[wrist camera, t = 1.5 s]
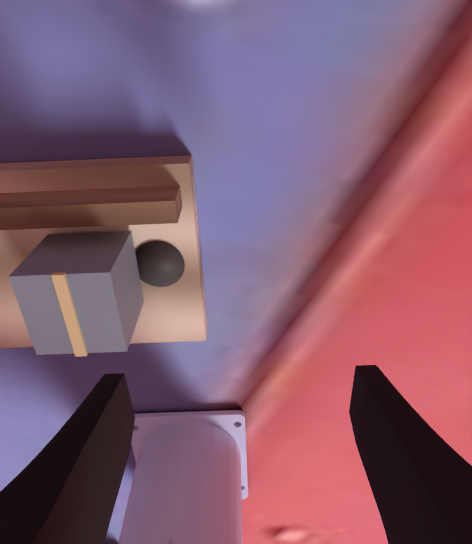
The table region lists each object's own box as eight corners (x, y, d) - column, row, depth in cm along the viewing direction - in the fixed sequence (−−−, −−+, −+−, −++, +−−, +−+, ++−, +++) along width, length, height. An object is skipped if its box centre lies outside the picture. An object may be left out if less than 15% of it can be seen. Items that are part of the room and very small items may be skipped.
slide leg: (143, 302, 22) (126, 354, 18) (68, 304, 22) (35, 358, 18) (131, 229, 20) (108, 273, 16) (47, 233, 20) (6, 277, 16)
